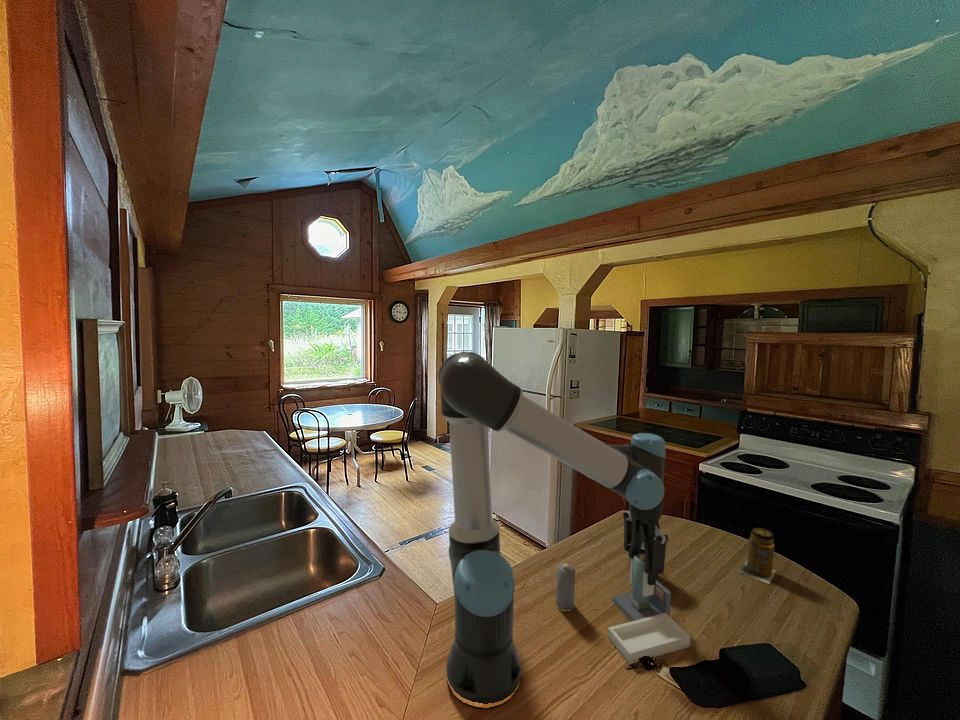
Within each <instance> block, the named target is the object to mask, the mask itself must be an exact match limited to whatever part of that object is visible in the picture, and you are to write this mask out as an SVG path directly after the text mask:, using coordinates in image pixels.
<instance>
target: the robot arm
mask: <svg viewBox="0 0 960 720" xmlns="http://www.w3.org/2000/svg"><path fill="white" fill-rule="evenodd" d="M438 370H439V371H438V385H439V388H440V391H439V393H440V404H441V416H442V417H443V418H445V420H447V421H448V423H449V426H448V427H449V440H450V458H451V476H452V492H453V493H452V495H453V508H454V511H453V512H454V521H453V522H452V523H451V524H450V526H449V528H448V537H449V547H448V556H449V561H450V567H451V577H452V584H453V585H452V586H453V593H454V594H453V596H454V640H453V643H452V646H451V647H450V651H449V654H448V656H447V661H446V667H445V669H446V672H447V678H448V681H449V683H450V685H451V686H452V688H453V689H454V691H455V692H456V693H458V694H459V695H460V696H461V697H463V698H465V699H467V700H470V701H472V702H478V703H483V704H488V703H495V702H499V701H502V700H504V699H505V698H507V697H508V696H510V695H511V694H512V693H513V692H514V691H515V689H516V688H517V686H518V684H519V681H520V682H521V680H520V677H521V675H522V672H521V671H522V669H521V668H522V667H521V659H520V656H519V654H518V653H519V652H518V649H516V645H515V641H514V639H513V638H514V637H513V635H514V633H513V632H514V595H515V578H514V573H513V572H514V571H513V568H512V566H511V564H510V563H509V561H508V559H506V558H505V557H504V556H503V555H501V554H502V553H501V540H500V539H501V538H500V525H499V523H498V521H496V520H495V519H494V518H493V511H492V510H493V508H492V507H493V505H492V488H491V487H492V486H491V484H492V483H491V469H490V468H491V466H490V448H489V443H490V442H489V428H490V429H492V430H493V431H495V432H496V433H497V432H501V431H505V432H508V433H510V434H511V435H513V436H514V437H516V438H518V439H520V440H522V441H524V442H525V443H527V444H529V445H531V446H533V447H534V448H535V449H536V448H537V450H540V451H541V452H543V453H545V454H547V455H548V456H550V457H552V458H554V459H556V460H557V461H559V462H561V463H563V464H565V465H566V466H568V467H570V468H571V469H573V470H575V471H577V472H579V473H580V474H582V475H585V477H587V478H588V479H591V480H593V481H595V482H597V483H599V484H600V485H601V486H604V487H605V488H607V489H609V490H611V491H612V492H613V493H616V494H617V495H619V496H621V497H622V498H623V499H625V500H626V501H627V502H628V511H624V512H623V513H622V516H623V521H624V522H623V523H624V525H623V526H624V527H623V528H624V529H623V531H624V532H623V549H624V551H625V552H627V554H628V557H629V584H630V585H631V586H632V585H633V565H634V556H635V555H636V554H641V553H640V550H641V545H642V542H644V550H645V560H646V569H644V572H643V593H642V595H643V596H644V597H646V596H650V595H654V585H655V584H656V574H658V575H659V574H664V572H665V562H666V561H665V560H666V549H667V543H668V541H669V536H668V535H667V534H663V533H662V531H661V530H660V524H659V521H660V519H661V518H662V516H663V505H664V504H663V498H664V496H665V486H664V482H665V481H664V479H665V464H666V463H665V462H666V457H667V456H666V442H665V440H664V438H663V437H661V436H660V435H657V434H654V433H648V432H647V433H646V432H639V433H635V434H633V435H632V436H631V440H630V443H626V444H625V443H623V444H606V443H604V442H602V440H599V439H598V438H597V437H594V436H593V435H591V434H589V433H588V432H586V431H584V430H583V429H581V428H579V427H578V426H575V425H573V424H572V423H570V422H568V421H567V420H565V419H564V418H562V417H560V416H559V415H557V414H555V413H554V412H552V411H550V410H548V409H547V408H545V407H544V406H541V405H540V404H538V403H537V402H535V401H533V400H531V398H529V397H526V396H525V395H524V393H523V389H522V388H521V387H520V386H518V385H517V384H515V383H513V382H512V381H510V380H509V379H508V378H506V377H505V376H504V375H503V374H501V373H500V372H499V371H498V370H497V369H496V368H495V367H494V366H492V365H491V363H489V362H488V361H487V360H485V358H484V357H482V355H479V353H478V354H477V353H476V352H472V351H461V352H460V351H459V352H456V353H453V354H451V355H450V356H448V357H446V358H445V360H444V361H443V362H442V364H441V366H440V369H438ZM447 678H446V679H447ZM521 678H522V677H521Z"/></svg>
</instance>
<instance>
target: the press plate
mask: <svg viewBox="0 0 960 720" xmlns="http://www.w3.org/2000/svg"><path fill="white" fill-rule="evenodd" d="M630 602H631V603H632V604H633V605H634V606H635V607H636V608H637V609H638V610H641V609H645V608H649V607H651V601H650V602H649V603H641V602H638V601H636V600H635V599H634V598H633V597H632V594H630Z"/></svg>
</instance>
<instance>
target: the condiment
mask: <svg viewBox="0 0 960 720" xmlns="http://www.w3.org/2000/svg"><path fill="white" fill-rule="evenodd" d="M750 532H751V533H750V536H749V538H748V546H747V547H748V549H747V559H746V561H745V562H744V564H743V565H742V567H741V568H740V569H739V570H738V571H739V573H741V574H743V575H745V576H747V577H750V578H752V579H755V580H756V581H760V582H762V583H765V584H768V585H770V584H771V581H772V580H773V578H774V577H775V575H776V573H777V571H776V570H774V569H773V566H774V565H773V564H774V553H775V544H774V534H773V532H771V531H770V530H767V529H766V528H760V527H754V528H752V529H751V531H750ZM775 572H776V573H775ZM774 574H775V575H774Z"/></svg>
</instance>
